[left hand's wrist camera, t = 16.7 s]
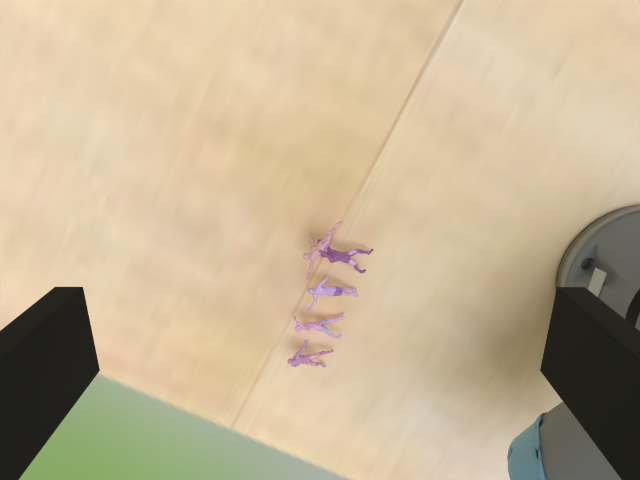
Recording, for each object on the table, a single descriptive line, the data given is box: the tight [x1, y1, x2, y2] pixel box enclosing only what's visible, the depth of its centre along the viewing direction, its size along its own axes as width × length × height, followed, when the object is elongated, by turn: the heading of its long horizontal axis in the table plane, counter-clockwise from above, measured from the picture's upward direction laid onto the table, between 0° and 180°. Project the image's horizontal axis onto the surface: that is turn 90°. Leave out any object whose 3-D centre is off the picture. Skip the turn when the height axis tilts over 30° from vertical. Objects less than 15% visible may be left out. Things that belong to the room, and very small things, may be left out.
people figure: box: [288, 221, 373, 367], centre depth 46 cm, size 18×6×8 cm
